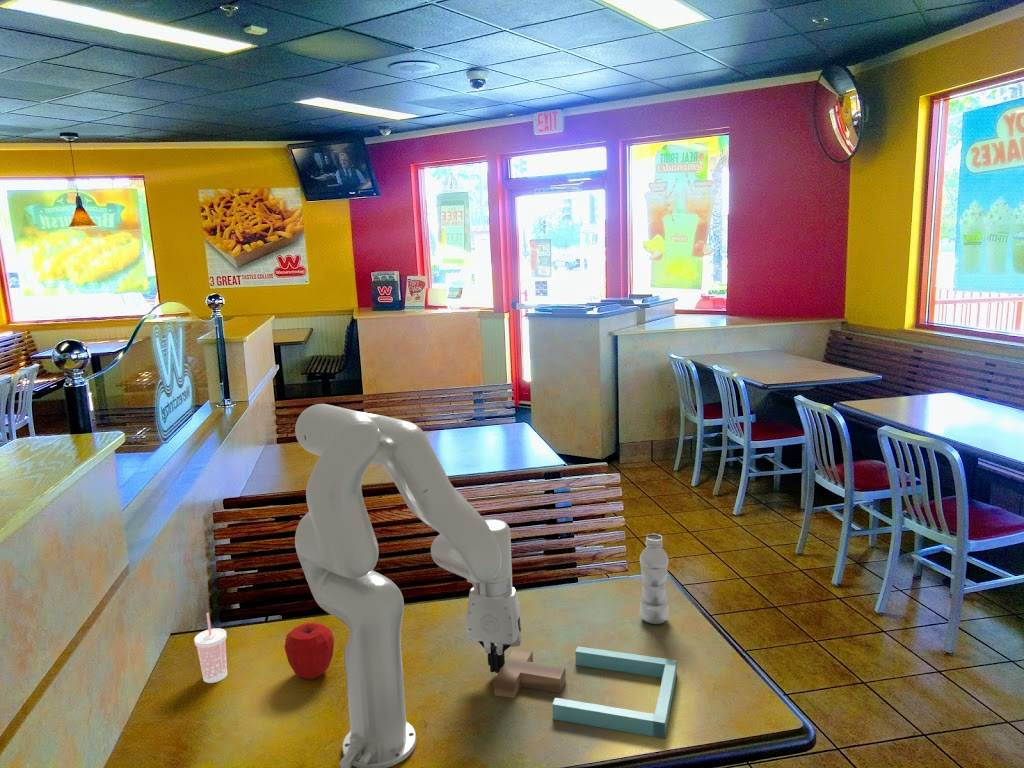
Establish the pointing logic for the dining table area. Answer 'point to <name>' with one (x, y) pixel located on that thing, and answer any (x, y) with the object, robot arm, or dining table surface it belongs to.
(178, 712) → the dining table surface
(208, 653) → the beverage cup
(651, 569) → the plastic bottle
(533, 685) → the walnut T-block
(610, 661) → the teal corral
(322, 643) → the apple
